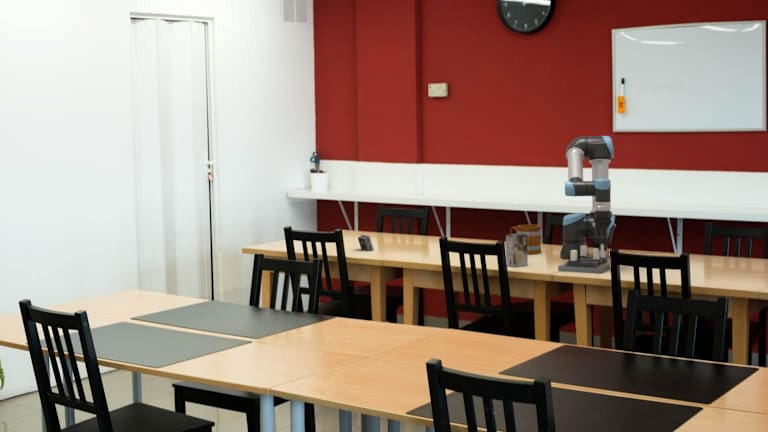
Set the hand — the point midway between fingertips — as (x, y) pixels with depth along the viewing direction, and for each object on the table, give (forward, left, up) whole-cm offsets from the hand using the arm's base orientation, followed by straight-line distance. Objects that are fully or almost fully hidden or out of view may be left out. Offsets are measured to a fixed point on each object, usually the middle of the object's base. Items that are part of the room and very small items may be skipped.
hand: (603, 257), depth 507 cm
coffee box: (+4, -44, -6) cm, 44 cm away
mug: (-37, -55, -6) cm, 66 cm away
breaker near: (+8, -12, -1) cm, 15 cm away
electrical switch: (-17, -144, -6) cm, 145 cm away
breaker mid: (0, -3, -1) cm, 3 cm away
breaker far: (-8, -12, -1) cm, 15 cm away
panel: (0, -8, -6) cm, 10 cm away
